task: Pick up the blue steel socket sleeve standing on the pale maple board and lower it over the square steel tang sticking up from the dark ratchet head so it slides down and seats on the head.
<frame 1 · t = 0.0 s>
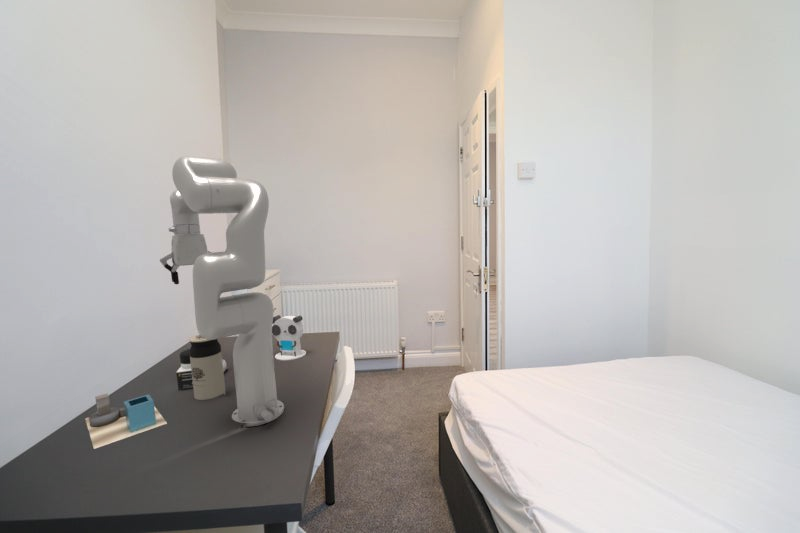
hand: (192, 281, 125), 31 cm above the table, fingers open, 9 cm apart
travel mug: (210, 397, 107), on the table
medicine bottle: (195, 388, 115), on the table
ratchet: (125, 425, 94), on the table
socket: (141, 424, 91), point 1 cm above the table, touching ratchet
panda figurine: (290, 355, 141), on the table
game controller: (205, 375, 126), on the table
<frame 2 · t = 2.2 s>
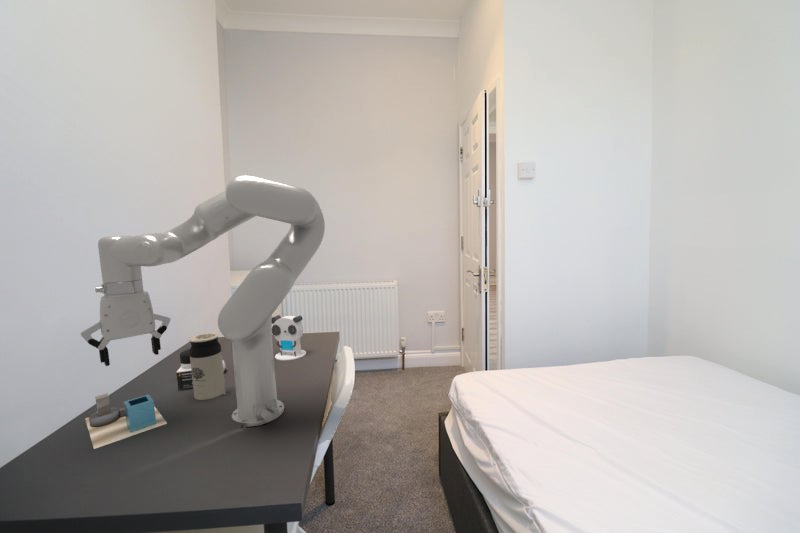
hand: (132, 358, 89), 18 cm above the table, fingers open, 9 cm apart
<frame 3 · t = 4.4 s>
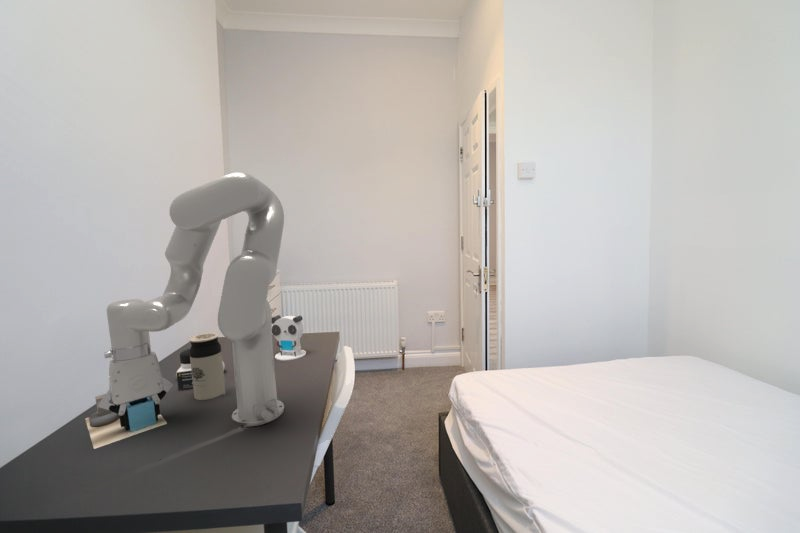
hand: (141, 422, 91), 2 cm above the table, fingers closed on socket, 5 cm apart
socket: (141, 424, 91), point 1 cm above the table, touching gripper, ratchet
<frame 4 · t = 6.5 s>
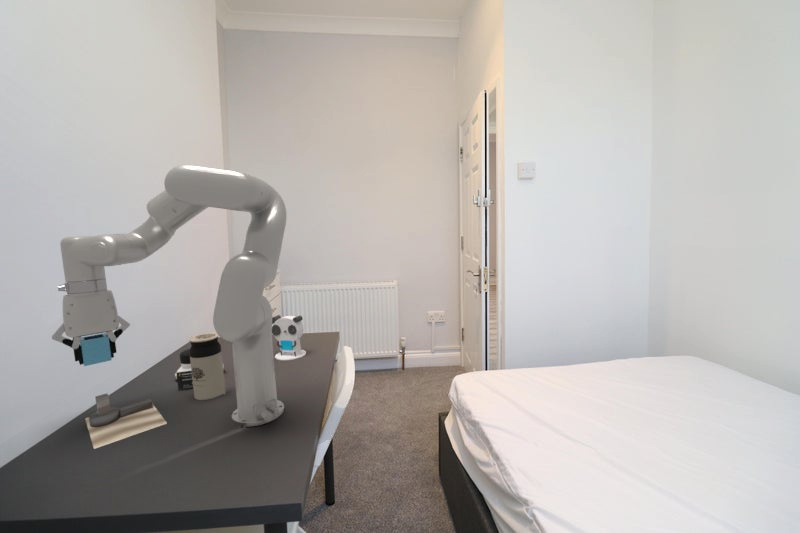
hand: (96, 359, 92), 17 cm above the table, fingers closed on socket, 5 cm apart
socket: (96, 360, 92), point 17 cm above the table, touching gripper
when the fingers open (5 cm above the table, at t = 8.8 s): socket stays where it is, resting on ratchet.
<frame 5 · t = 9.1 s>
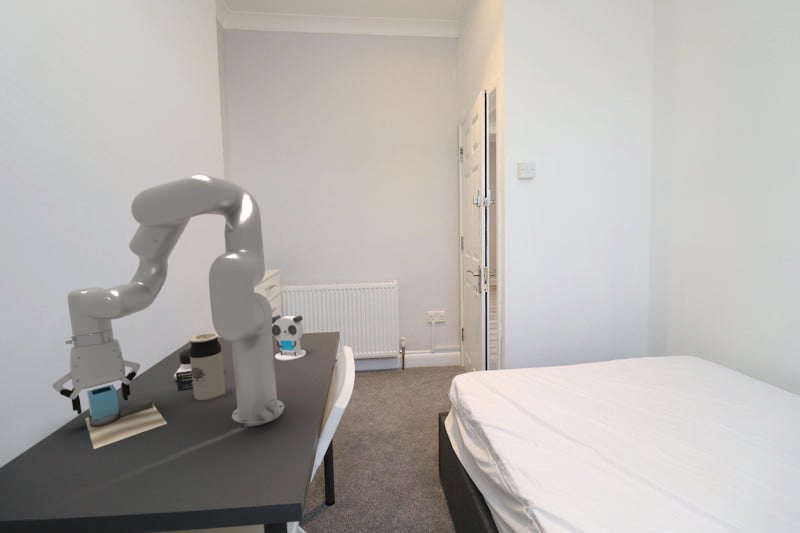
hand: (103, 405, 93), 5 cm above the table, fingers open, 8 cm apart
socket: (104, 413, 94), point 3 cm above the table, touching ratchet
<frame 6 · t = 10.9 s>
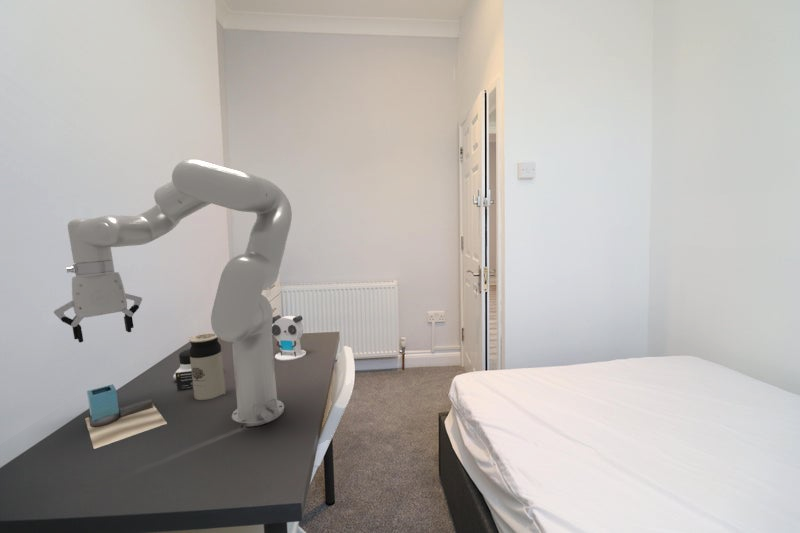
hand: (105, 336, 94), 22 cm above the table, fingers open, 9 cm apart
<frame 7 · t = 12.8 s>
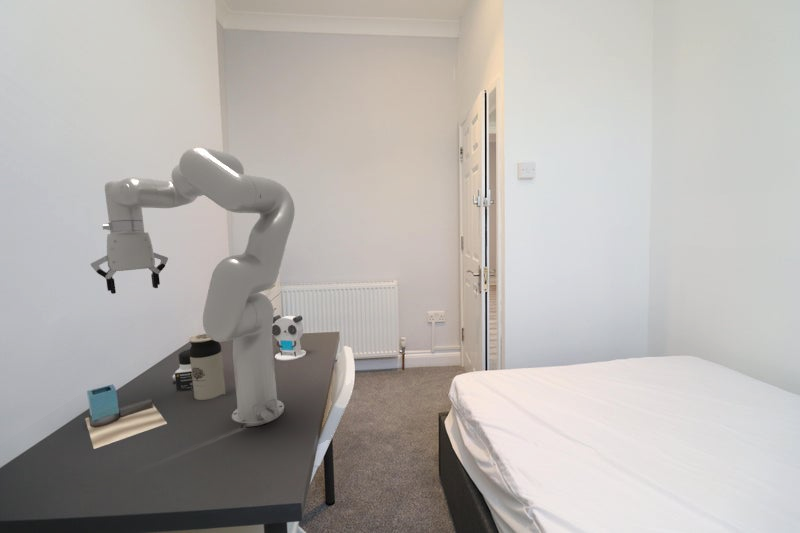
hand: (135, 290, 103), 32 cm above the table, fingers open, 9 cm apart
at the end: socket 0.1 cm from the target spot on the ratchet, point 3.2 cm above the ratchet's base; socket tilted 0°; the gripper is holding nothing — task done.
